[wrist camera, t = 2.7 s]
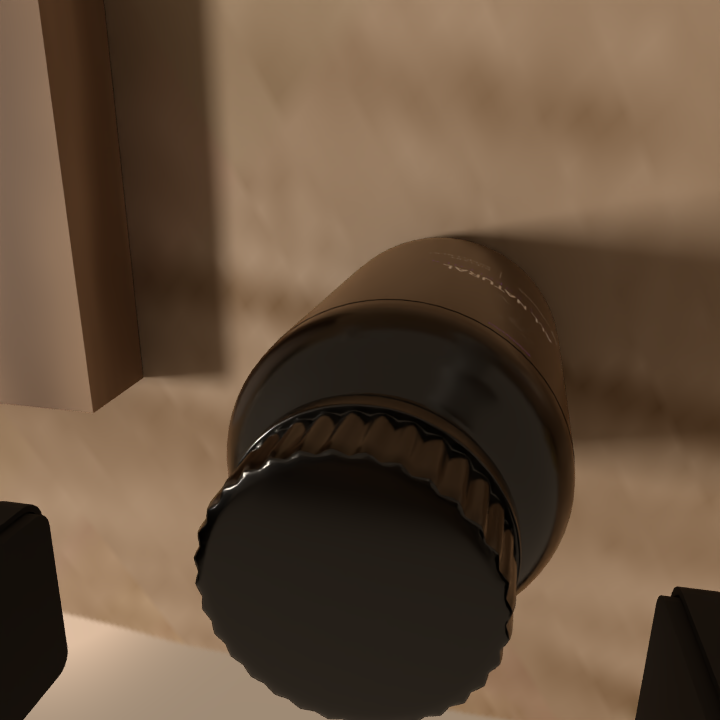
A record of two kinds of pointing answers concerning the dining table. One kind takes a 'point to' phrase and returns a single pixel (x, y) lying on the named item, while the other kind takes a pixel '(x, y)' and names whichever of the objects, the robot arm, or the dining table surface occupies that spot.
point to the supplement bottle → (392, 486)
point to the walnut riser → (62, 213)
